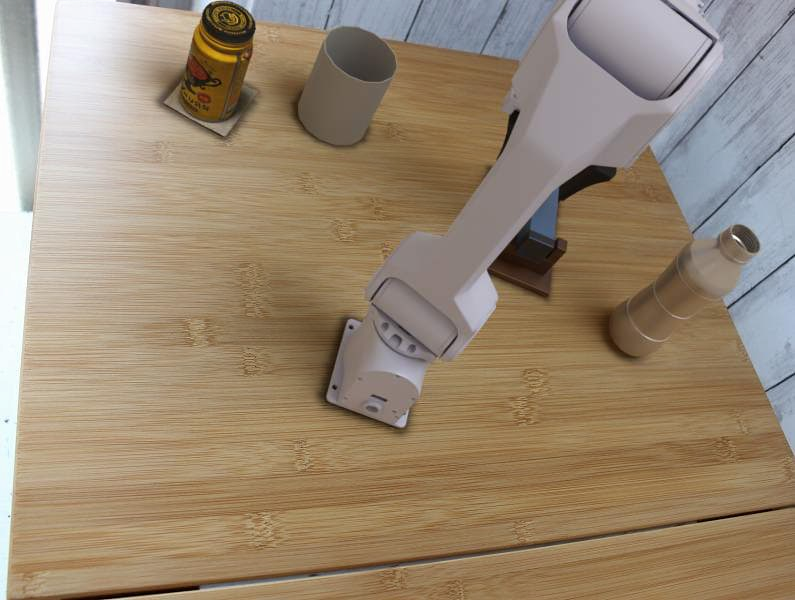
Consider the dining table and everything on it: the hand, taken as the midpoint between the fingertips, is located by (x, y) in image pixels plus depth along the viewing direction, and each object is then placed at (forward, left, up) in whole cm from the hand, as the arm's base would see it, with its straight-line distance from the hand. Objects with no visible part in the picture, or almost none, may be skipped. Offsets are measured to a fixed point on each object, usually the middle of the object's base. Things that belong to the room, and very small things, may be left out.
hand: (530, 179), depth 90 cm
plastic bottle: (-7, -19, -10) cm, 22 cm away
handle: (+2, -3, -6) cm, 7 cm away
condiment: (+2, +34, -10) cm, 36 cm away
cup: (+7, +21, -10) cm, 24 cm away
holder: (+2, -4, -9) cm, 10 cm away
